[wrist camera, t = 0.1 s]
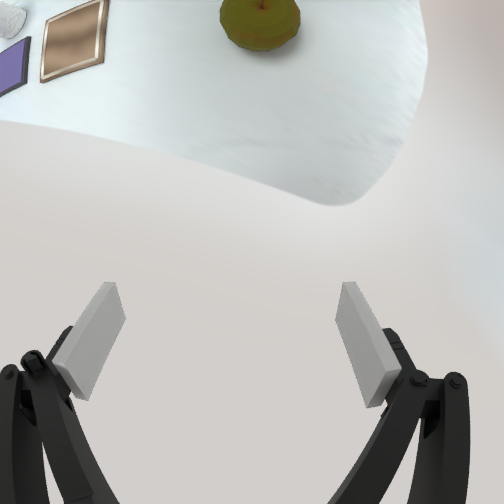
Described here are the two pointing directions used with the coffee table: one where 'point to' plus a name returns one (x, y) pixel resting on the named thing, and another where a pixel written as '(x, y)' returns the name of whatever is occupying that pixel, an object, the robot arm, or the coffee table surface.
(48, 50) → the brown square coaster
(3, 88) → the ink pad
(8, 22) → the white cup
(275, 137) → the coffee table surface
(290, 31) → the apple
